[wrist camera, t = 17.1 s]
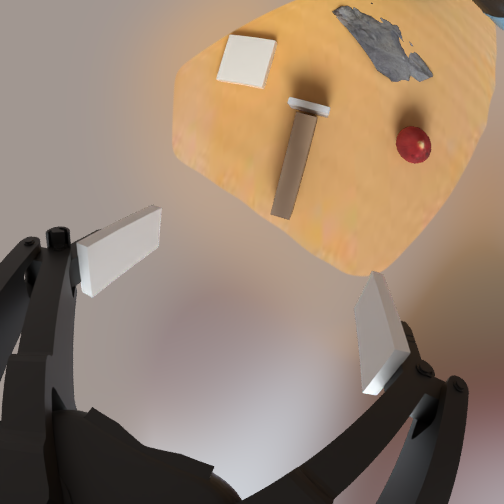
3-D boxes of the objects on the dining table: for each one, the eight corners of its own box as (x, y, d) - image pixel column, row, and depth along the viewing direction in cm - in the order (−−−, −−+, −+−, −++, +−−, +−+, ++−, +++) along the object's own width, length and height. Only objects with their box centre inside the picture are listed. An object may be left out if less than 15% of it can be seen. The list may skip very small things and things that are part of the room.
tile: (264, 89, 39) (277, 45, 35) (261, 87, 37) (275, 40, 33) (221, 81, 40) (233, 38, 36) (216, 79, 38) (229, 34, 34)
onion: (427, 149, 36) (447, 151, 29) (404, 168, 38) (421, 173, 31) (407, 121, 35) (424, 117, 28) (384, 140, 38) (397, 139, 30)
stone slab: (436, 75, 29) (394, 93, 33) (432, 77, 31) (391, 95, 34) (373, -5, 26) (330, 10, 29) (372, 0, 28) (329, 15, 31)
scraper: (328, 112, 38) (330, 107, 33) (301, 212, 46) (298, 222, 41) (292, 102, 39) (289, 96, 34) (268, 203, 47) (260, 211, 41)
